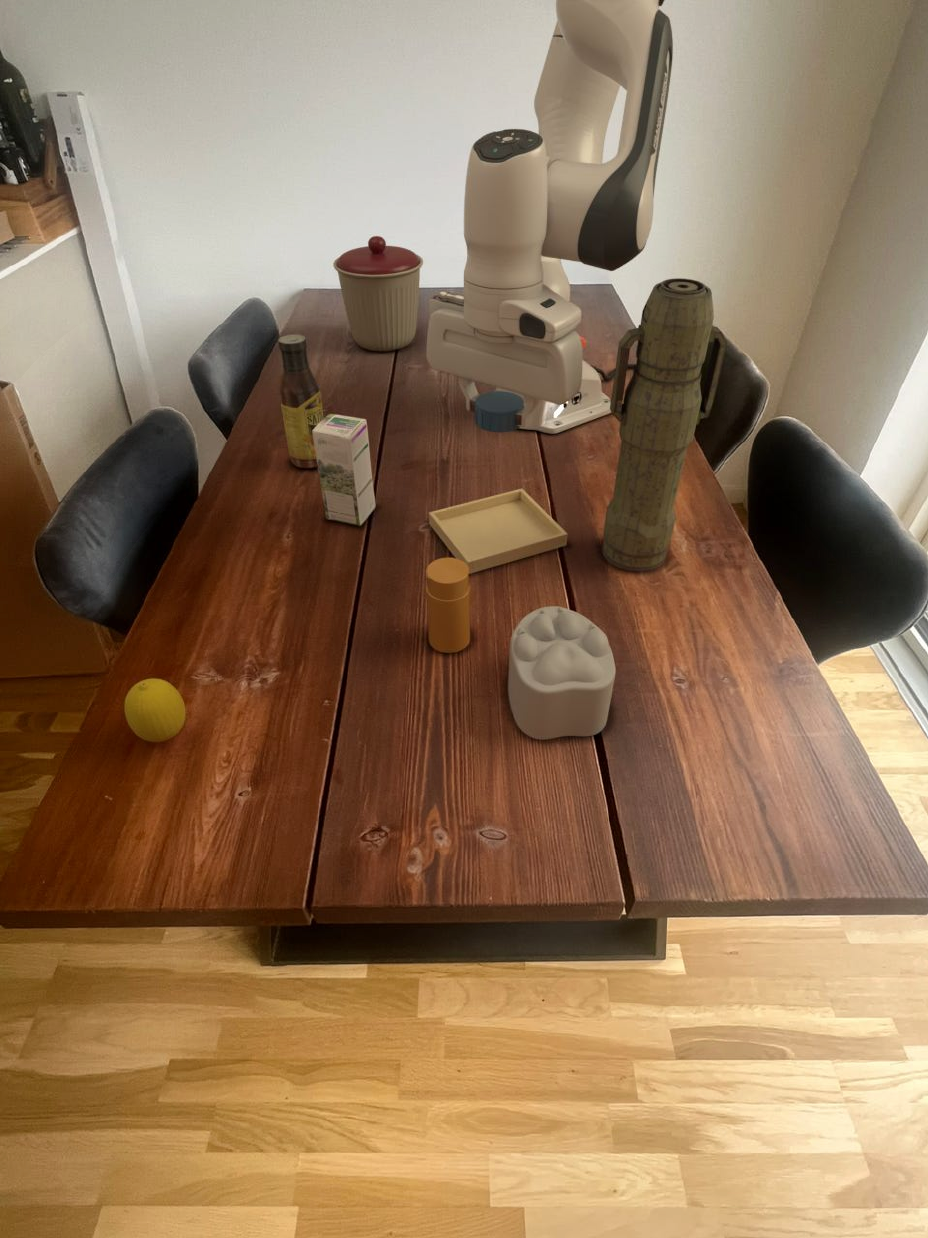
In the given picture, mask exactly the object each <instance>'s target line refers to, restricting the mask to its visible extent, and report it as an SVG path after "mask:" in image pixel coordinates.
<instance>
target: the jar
mask: <svg viewBox="0 0 928 1238" xmlns="http://www.w3.org/2000/svg"><path fill="white" fill-rule="evenodd" d="M424 572H425V576H426V585H425V595H426V614H427V615H426V618H427V634H428V642H429V645H430V646H431V647H432V649H434V650H436V651H437V652H439V653H444V654H453V653H458V652H461V651H463V650H464V649H466V648H467V647H468V645H469V644H470V641H471V584H470V574H469V568H468V566H467V564H466V563H464V562H463V561H461V560H459V559H456V558H455V557H441V558H437V559H435V560H433V561H432V562H430V563H429V564H428V565H427V567H426V568H425V571H424Z"/></svg>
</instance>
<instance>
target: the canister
mask: <svg viewBox="0 0 928 1238" xmlns="http://www.w3.org/2000/svg"><path fill="white" fill-rule="evenodd" d="M367 245H368V246H361V247H356V248H352V249H349V250H347V251H346V252H343V253H342V254H341V255H340V256H339V257H337V258H336V259H335V260H334V261H333V263H332V264H333V268H334V270H335V271H336V272H337V275H338V280H339V286H340V289H341V294H342V299H343V303H344V308H345V313H346V317H347V321H348V326H349V330H350V333H351V337H352V338H353V340H354V342H355V343H356V344H357V345H358V347H361V348H363V349H365V350H368V351H372V352H373V351H374V352H393V351H396V350H400V349H403V348H406V347H407V346H409V345H410V344H411V343H412V342H413V340H414V339H415V335H416V332H417V323H418V311H419V297H420V280H421V279H420V278H421V277H420V275H421V268H422V266H423V264H424V259H423V257H421V256H420V255H418V254H416V252H414V251H412V250H411V249H408V248H405V247H401V246H396V245H387V242H386V240H385V238H384V237H382V236H380V235H374V236H371V237H370V238H369V239H368V241H367Z"/></svg>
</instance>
